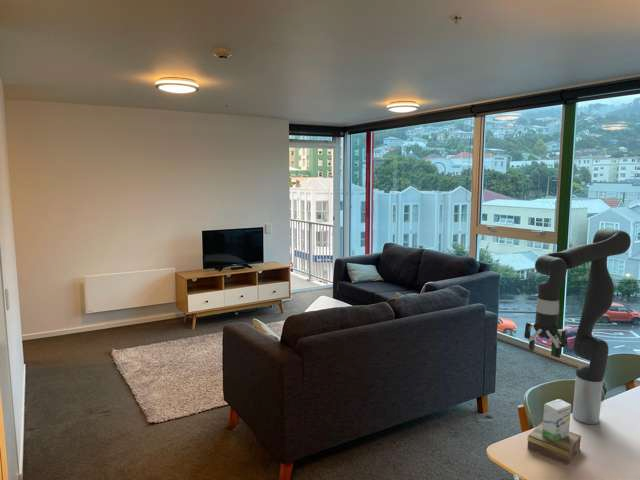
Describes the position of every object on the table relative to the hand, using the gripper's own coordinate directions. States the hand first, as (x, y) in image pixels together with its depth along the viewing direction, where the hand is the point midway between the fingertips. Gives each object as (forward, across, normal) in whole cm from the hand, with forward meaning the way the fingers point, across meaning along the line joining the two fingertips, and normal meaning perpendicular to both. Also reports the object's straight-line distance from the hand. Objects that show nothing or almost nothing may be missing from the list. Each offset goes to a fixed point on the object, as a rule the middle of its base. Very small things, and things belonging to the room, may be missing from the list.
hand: (544, 353), depth 173 cm
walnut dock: (+30, -8, +9) cm, 33 cm away
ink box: (+25, -9, +9) cm, 28 cm away
